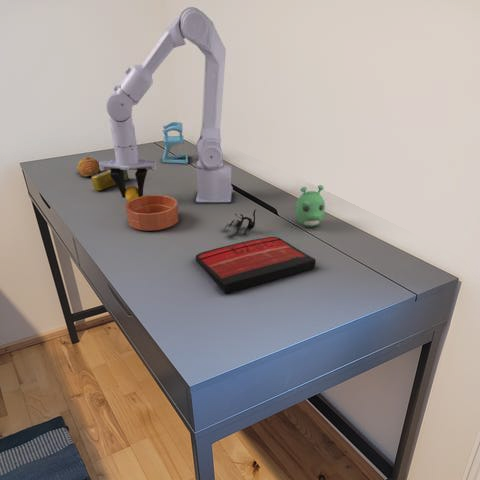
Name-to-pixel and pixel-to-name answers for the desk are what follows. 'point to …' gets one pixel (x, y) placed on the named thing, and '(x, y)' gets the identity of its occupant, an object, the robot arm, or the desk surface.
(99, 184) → the medication box
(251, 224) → the creature
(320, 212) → the alien toy
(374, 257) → the desk surface
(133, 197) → the blob
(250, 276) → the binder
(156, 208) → the bowl
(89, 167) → the pastry
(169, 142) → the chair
